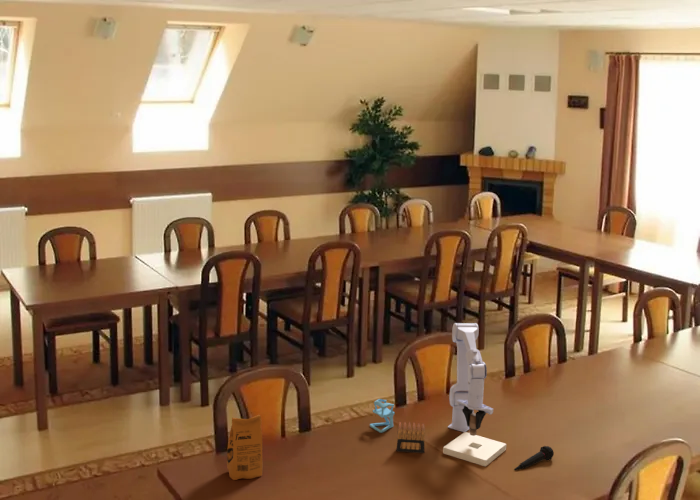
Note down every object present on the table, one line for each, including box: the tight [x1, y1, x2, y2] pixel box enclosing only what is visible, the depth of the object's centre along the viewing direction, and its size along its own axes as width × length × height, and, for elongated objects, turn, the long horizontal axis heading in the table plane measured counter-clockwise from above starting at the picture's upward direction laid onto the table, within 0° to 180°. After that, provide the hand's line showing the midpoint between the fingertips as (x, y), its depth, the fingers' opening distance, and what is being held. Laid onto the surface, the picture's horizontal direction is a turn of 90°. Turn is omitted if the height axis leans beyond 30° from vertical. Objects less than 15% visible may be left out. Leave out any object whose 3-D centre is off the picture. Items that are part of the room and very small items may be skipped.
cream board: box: [442, 431, 507, 467], centre depth 345 cm, size 18×18×2 cm
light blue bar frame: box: [369, 398, 396, 434], centre depth 364 cm, size 8×8×12 cm
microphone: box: [513, 445, 555, 471], centre depth 336 cm, size 6×6×20 cm
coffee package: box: [226, 414, 264, 481], centre depth 320 cm, size 10×12×22 cm
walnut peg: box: [469, 412, 478, 436], centre depth 344 cm, size 3×3×8 cm
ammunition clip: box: [396, 421, 426, 454], centre depth 343 cm, size 11×2×12 cm, turn 85°
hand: (473, 426), depth 344 cm, fingers closed on walnut peg, 3 cm apart
